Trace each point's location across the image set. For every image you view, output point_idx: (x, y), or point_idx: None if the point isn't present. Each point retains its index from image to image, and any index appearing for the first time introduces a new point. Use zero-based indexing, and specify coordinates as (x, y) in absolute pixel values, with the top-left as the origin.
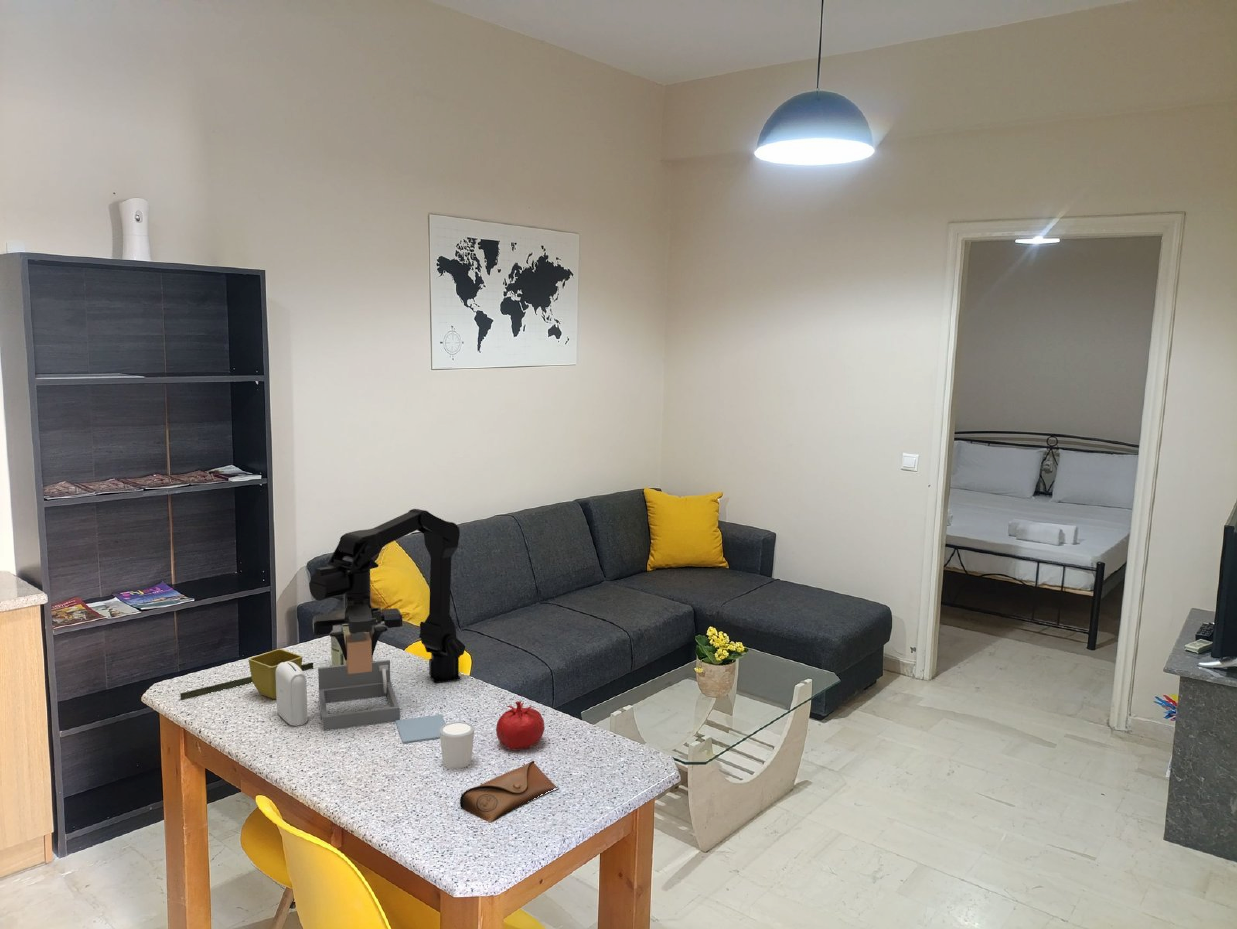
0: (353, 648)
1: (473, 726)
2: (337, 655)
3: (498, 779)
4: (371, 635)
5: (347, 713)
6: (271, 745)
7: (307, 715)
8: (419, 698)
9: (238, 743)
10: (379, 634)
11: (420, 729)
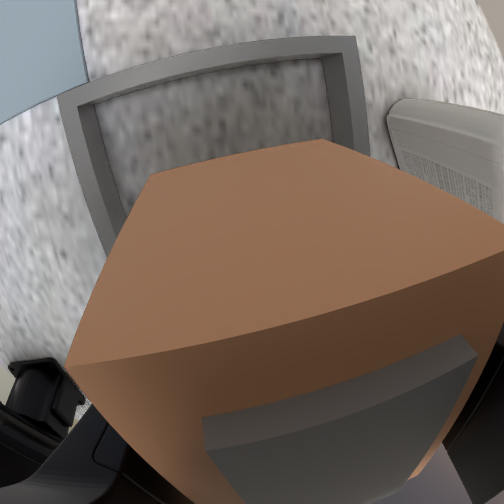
0: (397, 216)
1: None
2: None
3: None
4: (175, 501)
5: (267, 48)
6: (441, 9)
7: (396, 117)
8: (54, 273)
9: (493, 54)
10: (19, 491)
11: (14, 24)
